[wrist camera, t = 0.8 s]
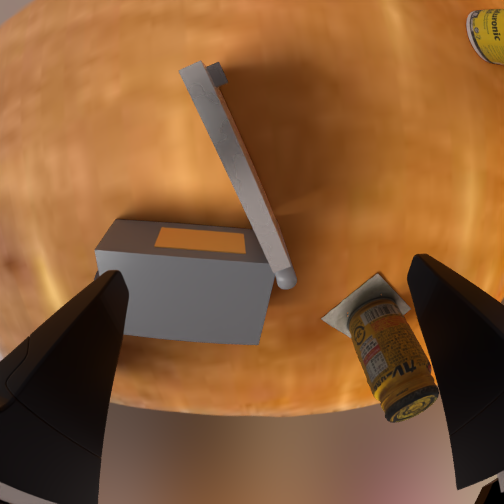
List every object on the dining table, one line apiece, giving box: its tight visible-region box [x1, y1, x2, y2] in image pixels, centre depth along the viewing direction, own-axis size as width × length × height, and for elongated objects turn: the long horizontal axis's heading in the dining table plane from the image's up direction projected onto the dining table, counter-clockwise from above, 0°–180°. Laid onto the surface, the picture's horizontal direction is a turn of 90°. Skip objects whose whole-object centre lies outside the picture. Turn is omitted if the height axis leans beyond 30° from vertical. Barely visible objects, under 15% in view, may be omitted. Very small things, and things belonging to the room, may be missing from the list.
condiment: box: [321, 274, 439, 422], centre depth 23 cm, size 7×8×12 cm
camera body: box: [94, 218, 297, 345], centre depth 20 cm, size 14×9×7 cm
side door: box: [179, 61, 291, 273], centre depth 15 cm, size 11×2×7 cm, turn 22°
